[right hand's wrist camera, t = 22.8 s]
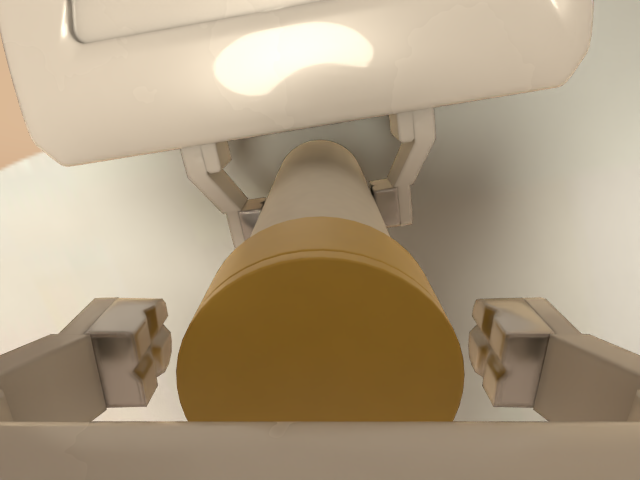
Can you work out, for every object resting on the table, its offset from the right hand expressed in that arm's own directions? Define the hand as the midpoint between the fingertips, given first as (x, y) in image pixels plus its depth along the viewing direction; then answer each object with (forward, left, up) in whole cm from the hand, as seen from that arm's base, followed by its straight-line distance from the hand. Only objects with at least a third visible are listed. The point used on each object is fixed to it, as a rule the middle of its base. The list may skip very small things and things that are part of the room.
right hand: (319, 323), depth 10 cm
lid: (0, 0, +2) cm, 2 cm away
